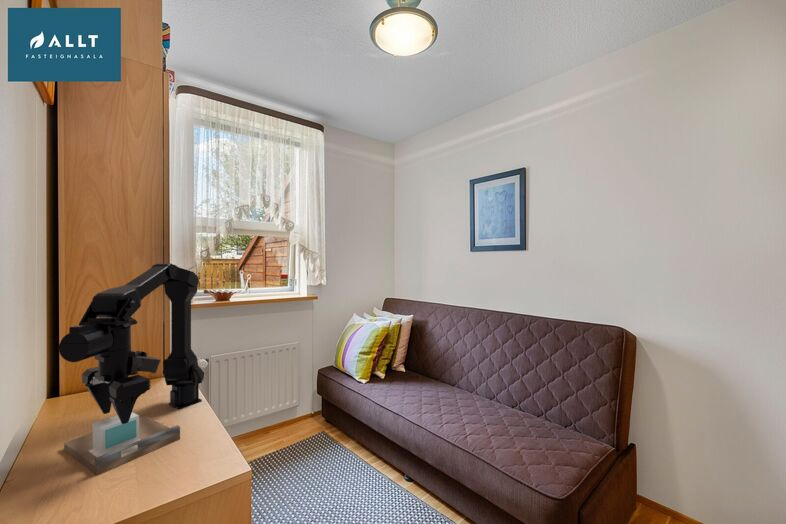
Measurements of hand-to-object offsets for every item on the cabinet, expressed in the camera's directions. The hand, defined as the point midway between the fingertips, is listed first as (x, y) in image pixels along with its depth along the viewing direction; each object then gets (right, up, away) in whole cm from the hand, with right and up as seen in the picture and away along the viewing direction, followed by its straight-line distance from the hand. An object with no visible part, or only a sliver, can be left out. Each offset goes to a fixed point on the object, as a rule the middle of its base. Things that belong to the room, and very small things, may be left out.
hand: (115, 418), depth 77 cm
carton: (0, -6, 0) cm, 6 cm away
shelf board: (-1, -8, +4) cm, 9 cm away
